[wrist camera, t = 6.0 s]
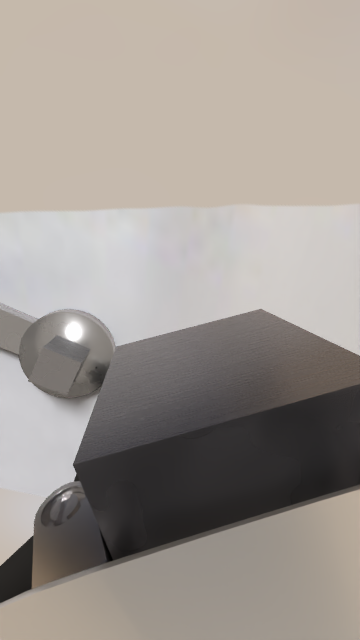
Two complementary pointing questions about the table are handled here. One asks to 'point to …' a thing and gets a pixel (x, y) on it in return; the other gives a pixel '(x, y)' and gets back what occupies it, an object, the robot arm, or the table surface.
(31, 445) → the table surface
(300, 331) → the matte grey cube
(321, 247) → the table surface
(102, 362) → the ratchet
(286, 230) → the table surface
